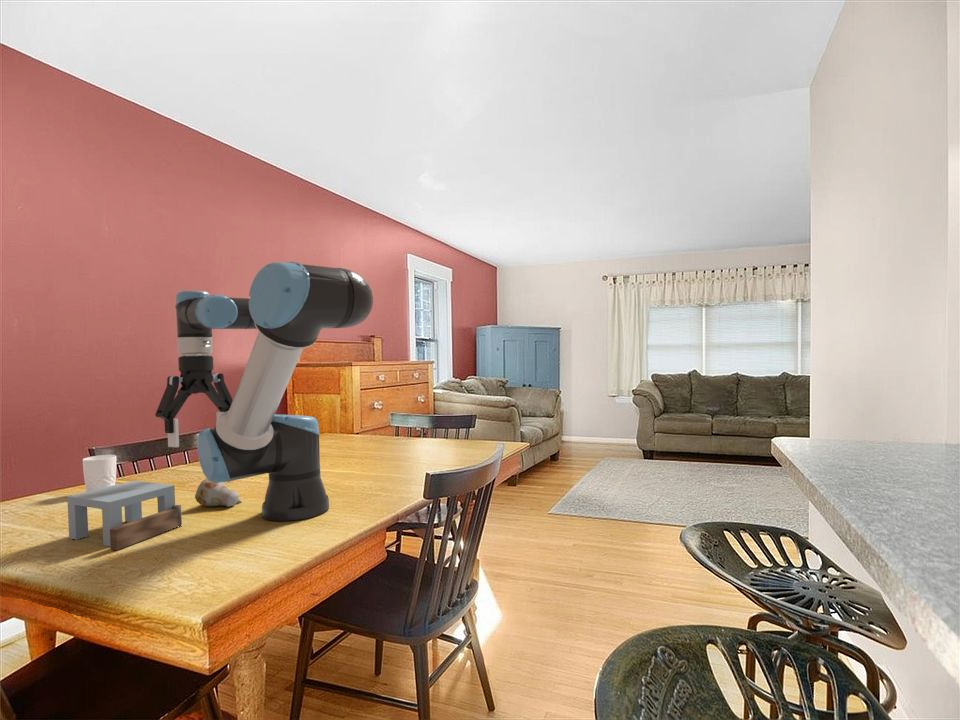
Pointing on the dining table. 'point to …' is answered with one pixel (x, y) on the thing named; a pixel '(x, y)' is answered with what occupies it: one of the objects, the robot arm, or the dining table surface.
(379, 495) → the dining table surface
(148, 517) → the brown wooden plank
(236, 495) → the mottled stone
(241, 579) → the dining table surface
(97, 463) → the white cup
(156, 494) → the stool
